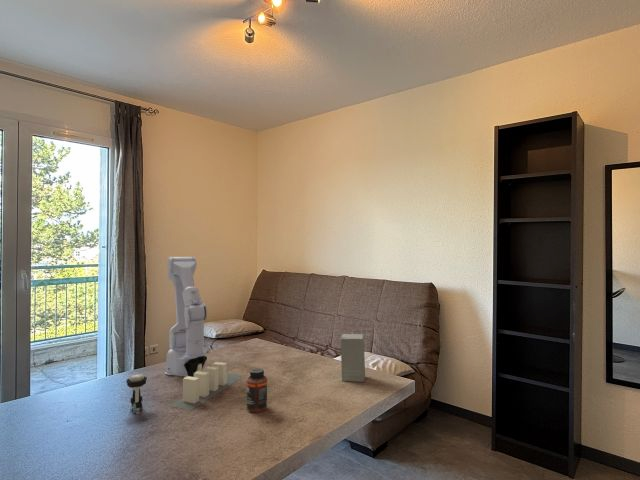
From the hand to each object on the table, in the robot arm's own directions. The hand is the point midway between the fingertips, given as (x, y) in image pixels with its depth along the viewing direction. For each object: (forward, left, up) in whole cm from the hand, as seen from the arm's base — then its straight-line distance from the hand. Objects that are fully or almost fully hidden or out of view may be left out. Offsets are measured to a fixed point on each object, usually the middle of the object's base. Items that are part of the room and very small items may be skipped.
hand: (194, 379), depth 125 cm
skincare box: (+50, +24, -2) cm, 56 cm away
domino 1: (0, 0, -2) cm, 2 cm away
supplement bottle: (+29, -9, -2) cm, 31 cm away
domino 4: (+8, -2, -2) cm, 8 cm away
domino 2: (+8, -7, -2) cm, 11 cm away
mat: (+8, -2, -2) cm, 9 cm away
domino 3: (+8, -12, -2) cm, 15 cm away
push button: (-3, -22, -2) cm, 22 cm away
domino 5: (+8, +3, -2) cm, 9 cm away
